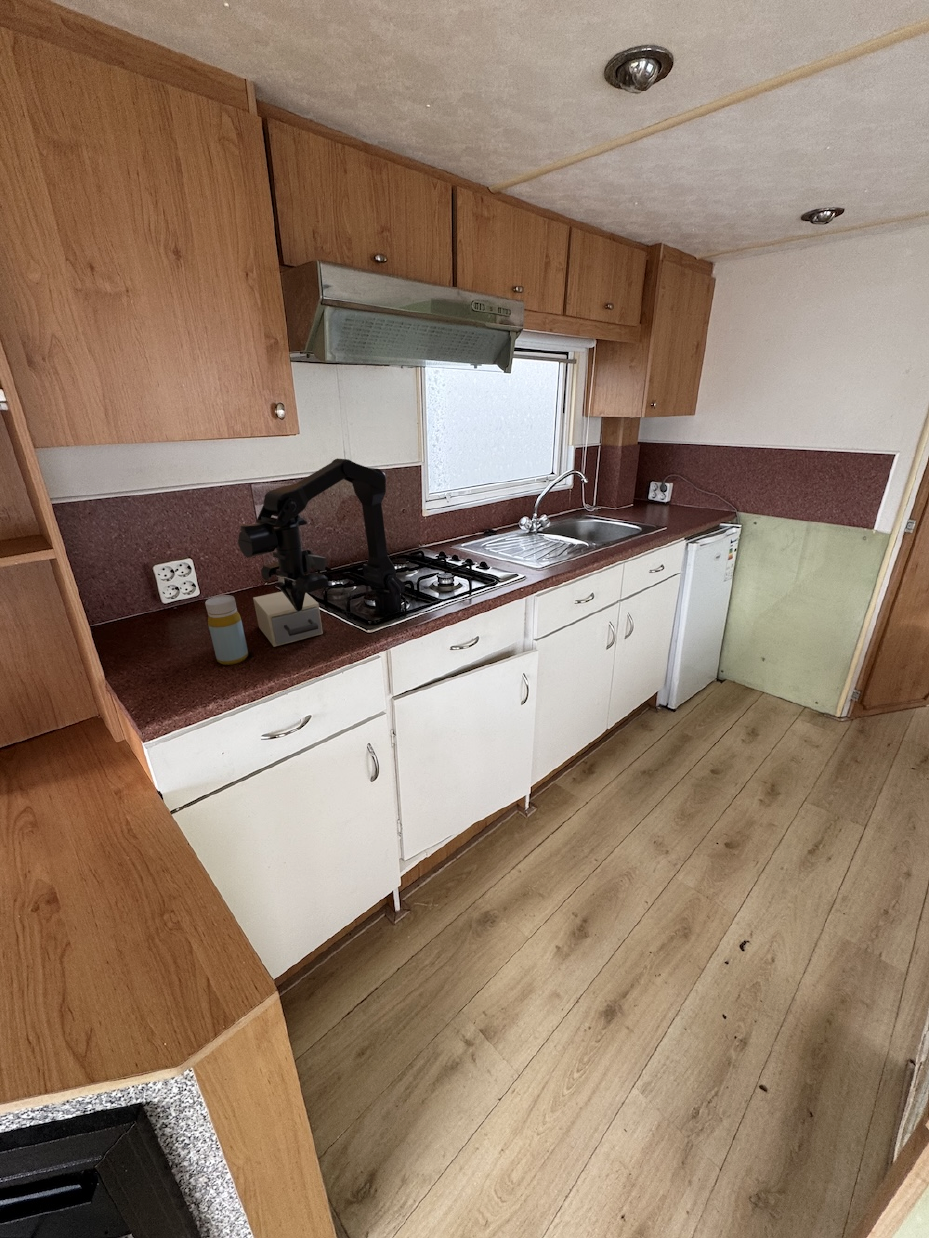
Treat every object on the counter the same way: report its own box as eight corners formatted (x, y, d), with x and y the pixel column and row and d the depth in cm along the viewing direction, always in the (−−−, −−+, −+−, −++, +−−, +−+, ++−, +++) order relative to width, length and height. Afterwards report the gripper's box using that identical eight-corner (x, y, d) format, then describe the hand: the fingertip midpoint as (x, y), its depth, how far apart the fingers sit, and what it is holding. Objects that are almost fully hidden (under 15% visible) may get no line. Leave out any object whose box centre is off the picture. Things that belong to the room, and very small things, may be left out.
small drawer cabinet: (323, 634, 139) (318, 603, 135) (273, 647, 132) (267, 615, 129) (305, 616, 150) (300, 587, 146) (258, 627, 144) (252, 597, 140)
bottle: (238, 666, 123) (224, 606, 117) (211, 664, 125) (196, 605, 119) (254, 653, 129) (242, 595, 124) (228, 651, 131) (215, 593, 125)
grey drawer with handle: (329, 640, 133) (325, 615, 130) (283, 652, 127) (278, 626, 125) (305, 616, 147) (301, 593, 145) (262, 626, 142) (258, 602, 139)
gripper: (343, 545, 122) (350, 608, 128) (295, 533, 133) (304, 592, 139) (301, 557, 114) (311, 624, 120) (254, 543, 125) (266, 605, 131)
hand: (299, 610), depth 128 cm, fingers closed
